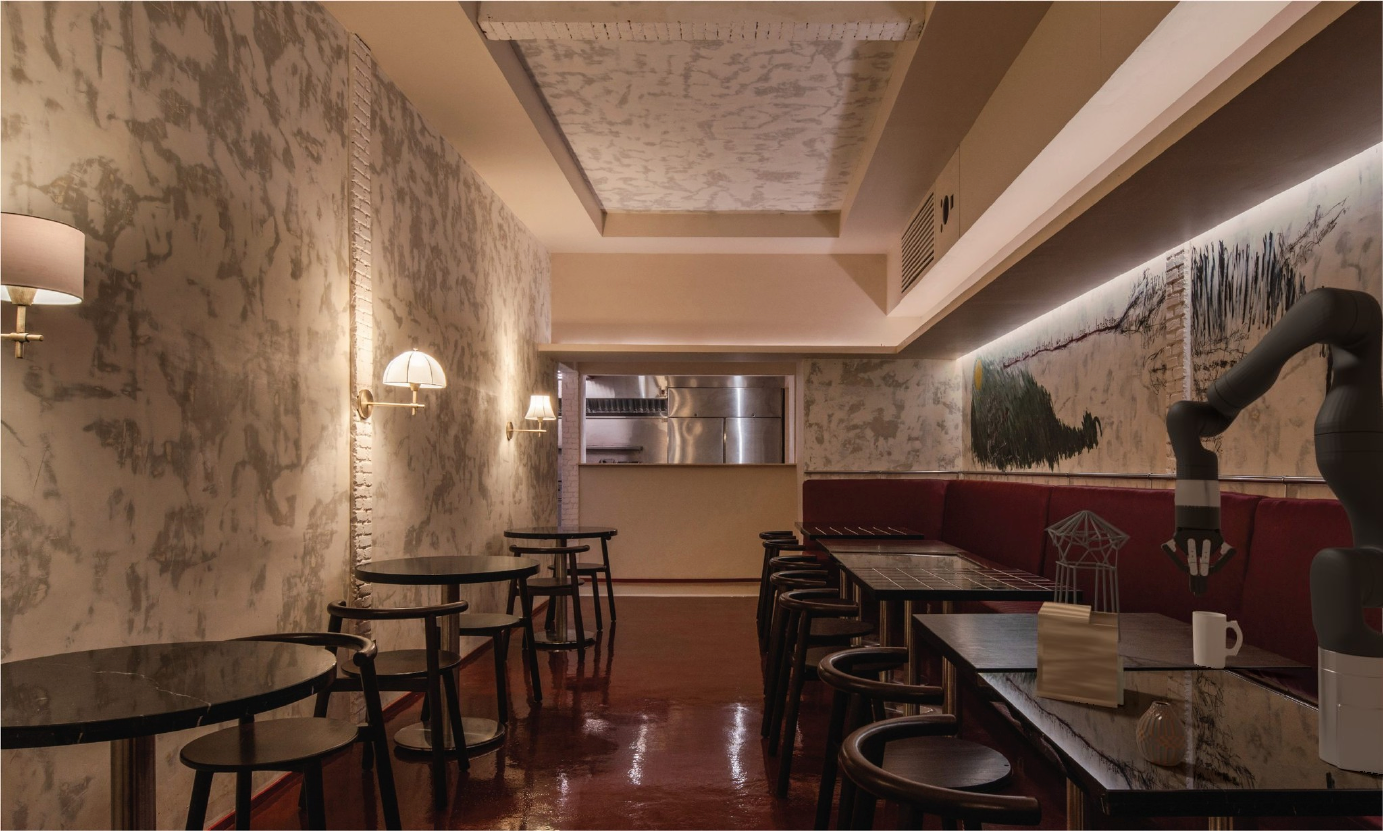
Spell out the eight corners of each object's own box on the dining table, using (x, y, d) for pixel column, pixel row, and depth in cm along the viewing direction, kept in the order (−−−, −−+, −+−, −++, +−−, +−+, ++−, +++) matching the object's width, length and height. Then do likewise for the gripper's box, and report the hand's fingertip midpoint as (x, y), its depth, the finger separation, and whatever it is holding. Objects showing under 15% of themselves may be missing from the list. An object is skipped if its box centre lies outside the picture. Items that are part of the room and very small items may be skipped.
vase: (1170, 754, 132) (1170, 697, 132) (1198, 770, 125) (1198, 710, 125) (1127, 753, 132) (1127, 696, 132) (1152, 769, 125) (1152, 709, 125)
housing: (1117, 708, 158) (1117, 621, 159) (1036, 696, 164) (1037, 613, 165) (1117, 687, 174) (1117, 608, 175) (1043, 677, 180) (1044, 601, 181)
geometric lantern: (1105, 650, 211) (1106, 510, 213) (1132, 665, 195) (1133, 513, 197) (1040, 647, 212) (1042, 507, 214) (1061, 661, 197) (1063, 510, 199)
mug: (1195, 666, 196) (1195, 614, 197) (1190, 660, 202) (1190, 610, 203) (1246, 672, 192) (1245, 619, 193) (1239, 666, 198) (1239, 614, 199)
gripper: (1159, 502, 162) (1160, 594, 160) (1240, 505, 156) (1242, 600, 154) (1157, 502, 168) (1158, 590, 167) (1235, 505, 163) (1237, 596, 161)
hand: (1198, 595), depth 161 cm, fingers closed
